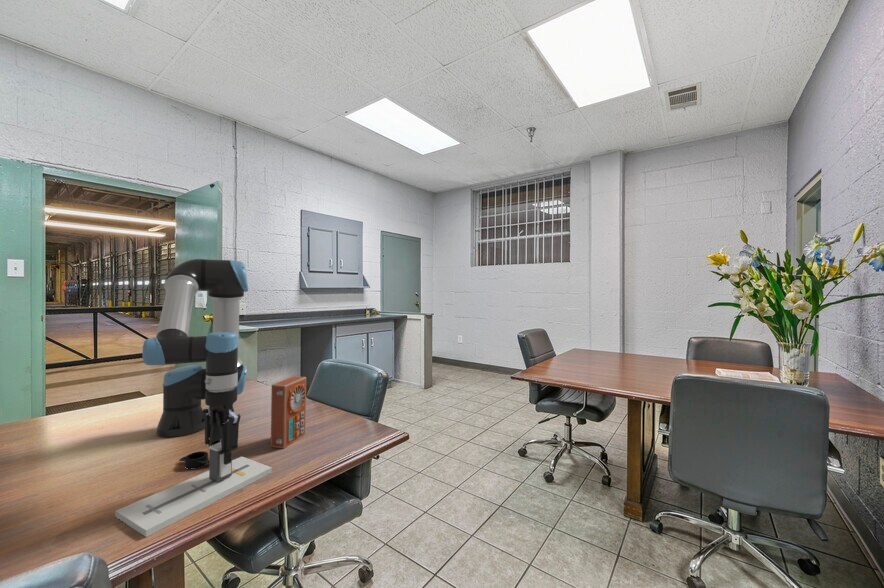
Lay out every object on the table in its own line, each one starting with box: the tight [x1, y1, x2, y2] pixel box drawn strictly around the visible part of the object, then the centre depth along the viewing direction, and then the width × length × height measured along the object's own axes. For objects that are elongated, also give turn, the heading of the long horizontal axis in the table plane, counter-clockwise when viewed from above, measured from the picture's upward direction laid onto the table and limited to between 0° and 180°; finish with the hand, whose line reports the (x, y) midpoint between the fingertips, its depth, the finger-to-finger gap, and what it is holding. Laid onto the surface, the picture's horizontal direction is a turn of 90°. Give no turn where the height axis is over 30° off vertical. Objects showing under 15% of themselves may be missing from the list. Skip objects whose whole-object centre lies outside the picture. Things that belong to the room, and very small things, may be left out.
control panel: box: [270, 375, 307, 449], centre depth 127 cm, size 21×7×15 cm
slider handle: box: [208, 441, 233, 482], centre depth 98 cm, size 4×4×9 cm
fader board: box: [115, 456, 273, 538], centre depth 94 cm, size 14×31×2 cm, turn 153°
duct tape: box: [178, 450, 210, 470], centre depth 108 cm, size 8×10×3 cm
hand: (220, 472), depth 98 cm, fingers closed on slider handle, 3 cm apart
